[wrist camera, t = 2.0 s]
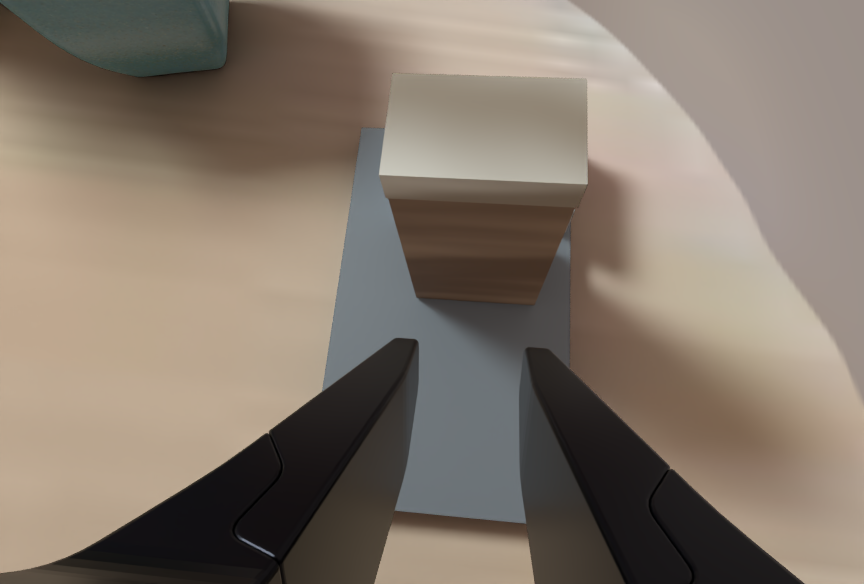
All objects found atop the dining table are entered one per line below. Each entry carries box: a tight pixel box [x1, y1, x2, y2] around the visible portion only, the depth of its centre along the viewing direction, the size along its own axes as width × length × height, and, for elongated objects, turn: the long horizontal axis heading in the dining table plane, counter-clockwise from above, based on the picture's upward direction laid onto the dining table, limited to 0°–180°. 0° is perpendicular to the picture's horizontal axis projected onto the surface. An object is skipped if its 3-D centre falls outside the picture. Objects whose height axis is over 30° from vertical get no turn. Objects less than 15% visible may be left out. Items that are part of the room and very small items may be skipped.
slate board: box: [322, 128, 575, 524], centre depth 22 cm, size 17×10×3 cm, turn 175°
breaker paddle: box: [379, 73, 588, 305], centre depth 18 cm, size 3×5×10 cm, turn 85°
